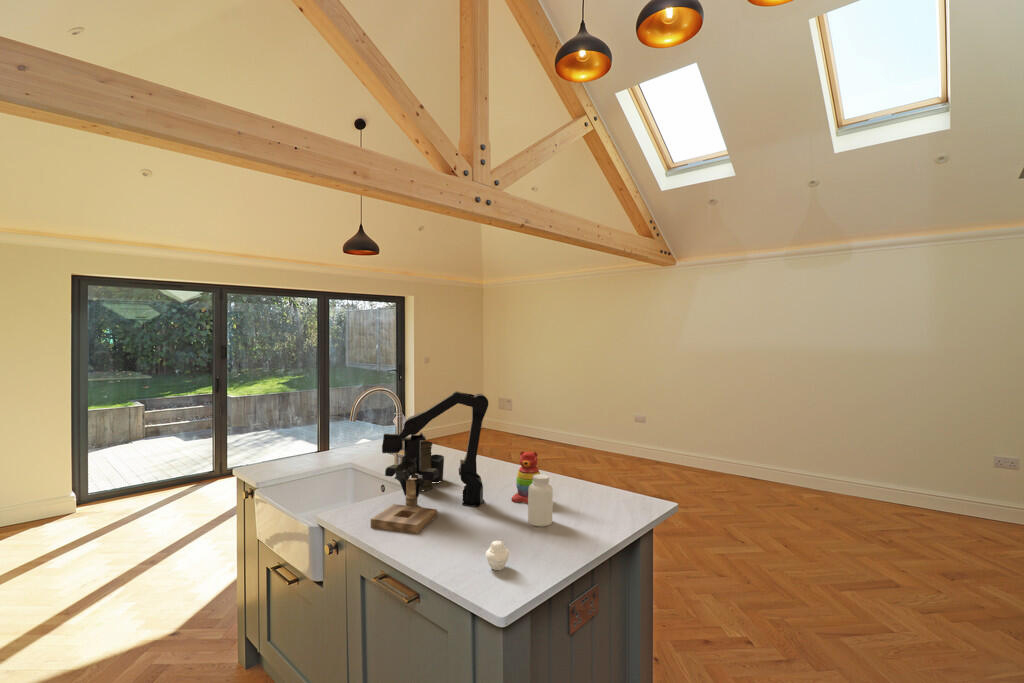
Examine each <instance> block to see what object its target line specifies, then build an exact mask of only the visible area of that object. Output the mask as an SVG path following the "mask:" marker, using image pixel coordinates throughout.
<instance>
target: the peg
mask: <svg viewBox="0 0 1024 683" xmlns="http://www.w3.org/2000/svg"><path fill="white" fill-rule="evenodd" d="M415 480H416V478H411V477H409V479H407V480H406V496H405V505H406V506H414V507H418V498H419V496H418V497H416V482H415Z"/></svg>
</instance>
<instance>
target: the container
mask: <svg viewBox="0 0 1024 683" xmlns="http://www.w3.org/2000/svg"><path fill="white" fill-rule="evenodd" d="M432 446H433V442H432V441H428V440H422V441H421V454H422V457H421V458H420V465H422V469H420V470H426V469H428V468H431V455H433V454H432V448H433V447H432ZM416 473H417V472H416ZM410 478H416V479H418V476H417V475H410ZM431 488H432V489H433V484H432V480H431V481H430V480H426V481H425V483H424V485H423V487H422V489H421V490H427V491H429V490H428V489H430V490H431Z"/></svg>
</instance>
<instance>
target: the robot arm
mask: <svg viewBox="0 0 1024 683" xmlns="http://www.w3.org/2000/svg"><path fill="white" fill-rule="evenodd" d="M457 404H459V405H463V406H467V407H471V421H470V422H471V423H470V429H469V436H468V440H467V448H466V453H465V457H464V459H460V460H459V461H460V463H459V464H460V465H459V468H458V475H459V476H460V481H461V482H462V483H463V484H465V485H464V486H463V490H462V503H461V505H462V506H469V507H477V508H478V507H480V506H481V505H482V504H483V503H484V502H485V499H484V484H483V481H482V477H481V476H480V474H478V473H477V455H478V451H479V450H478V449H479V443H480V437H481V430H482V425H483V420H484V417H485V415H486V414H487V410H488V408H489V399H488V398H487V397H486V395H485V394H483V393H476V394H472V393H465V392H461V391H458V390H456V391H454V392H452V393H451V394H450V395H448V396H447V397H446V398H444V399H443V400H441V401H439V402H438V403H436V404H434V405H433V406H431V407H430V408H428V409H426V410H425V411H422V412H419V413H416V414H414V415H412V416H409V417H408V418H407V419H406V421H405V422H404V425H403V428H402V430H400V432H399V433H384V434H383V439H382V445H381V453H382V454H400V452H401V451H403V452H404V453H403V455H402V457H401V462H400V463H398V464H392V465H390V466H387V467H386V468H385V471H384V476H385V477H394V480H397V481H398V482H399V483H400V486H401V488H402V491H403V494H404V496H405V497H406V480H407V479H409V478H411V475H417V476H418V479H416V480H415V482H416V497H418V498H419V496H420V494H421V492H422V491H421V489H422V487H423V485H424V483H425V481H426V480H430V481H431V480H434V479H436V478H437V477H439V471H438V469H435V468H428V469H426V470H420V469H422V465H420V458H421V457H422V454H421V441H427V436H425V435H424V434H423V432H420V431H421V430H422V429H424V428H425V427H426V426H427V425H428V424H429V423H430V422H431V421H432V420H434V419H435V418H437V417H439V416H440V415H441V414H444V412H445V413H446V411H448V410H450V409H451V408H453V407H454V406H456V405H457ZM419 432H420V433H419ZM418 433H419V434H418ZM409 436H410V437H409ZM403 444H404V445H403ZM403 446H404V447H403ZM416 472H417V473H416Z"/></svg>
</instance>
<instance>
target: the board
mask: <svg viewBox="0 0 1024 683" xmlns="http://www.w3.org/2000/svg"><path fill="white" fill-rule="evenodd" d="M437 512H438V511H437V509H436V508H429V507H420V506H415V507H414V506H406V504H405V505H404V504H396V503H393V504H392V505H390V506H388V507H387V508H385V509H384V510H383V511H380V512H379V513H377V514H376V515H374V516H372V517H371V518H370V527H371V528H376V529H382V528H383V529H384V530H389V531H391V530H392V531H397V532H405V533H412V534H418V533H419V532H420V531H421V530H423V529H424V528H425V527H427V525H429V524H430V523H431V522H432V521H433V520H434V519H436V518H437Z"/></svg>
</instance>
